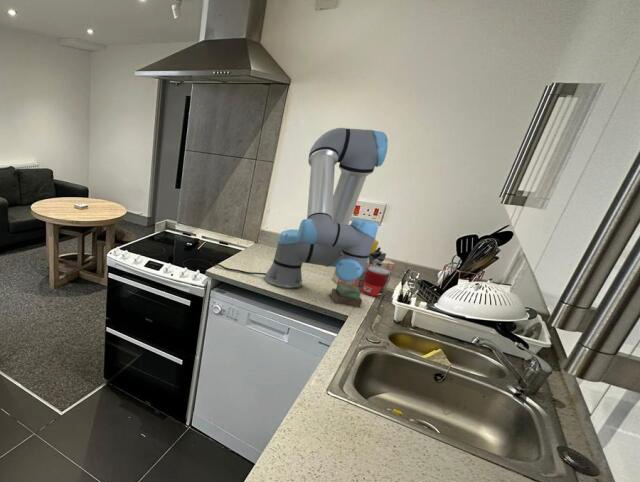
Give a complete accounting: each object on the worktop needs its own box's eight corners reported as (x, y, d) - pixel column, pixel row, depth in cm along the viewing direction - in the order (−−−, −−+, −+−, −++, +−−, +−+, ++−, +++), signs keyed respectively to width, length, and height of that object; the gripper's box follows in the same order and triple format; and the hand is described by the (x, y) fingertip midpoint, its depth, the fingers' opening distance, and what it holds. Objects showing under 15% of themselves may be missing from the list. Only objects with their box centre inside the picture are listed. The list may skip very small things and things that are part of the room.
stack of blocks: (337, 284, 176) (345, 258, 171) (332, 279, 182) (340, 253, 177) (386, 289, 175) (396, 263, 170) (379, 284, 181) (388, 259, 176)
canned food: (382, 298, 165) (392, 274, 160) (361, 294, 167) (370, 270, 163) (379, 292, 171) (387, 268, 167) (358, 288, 174) (367, 265, 169)
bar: (358, 265, 149) (367, 240, 145) (355, 262, 153) (363, 237, 149) (369, 267, 148) (378, 242, 144) (366, 264, 152) (375, 239, 148)
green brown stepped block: (335, 303, 156) (340, 289, 153) (330, 294, 164) (334, 281, 162) (359, 307, 154) (364, 293, 152) (353, 298, 162) (357, 285, 160)
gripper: (326, 264, 142) (341, 251, 159) (383, 279, 132) (393, 264, 149) (332, 244, 139) (347, 234, 156) (391, 258, 129) (400, 245, 146)
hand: (369, 248), depth 152 cm, fingers closed on bar, 5 cm apart
